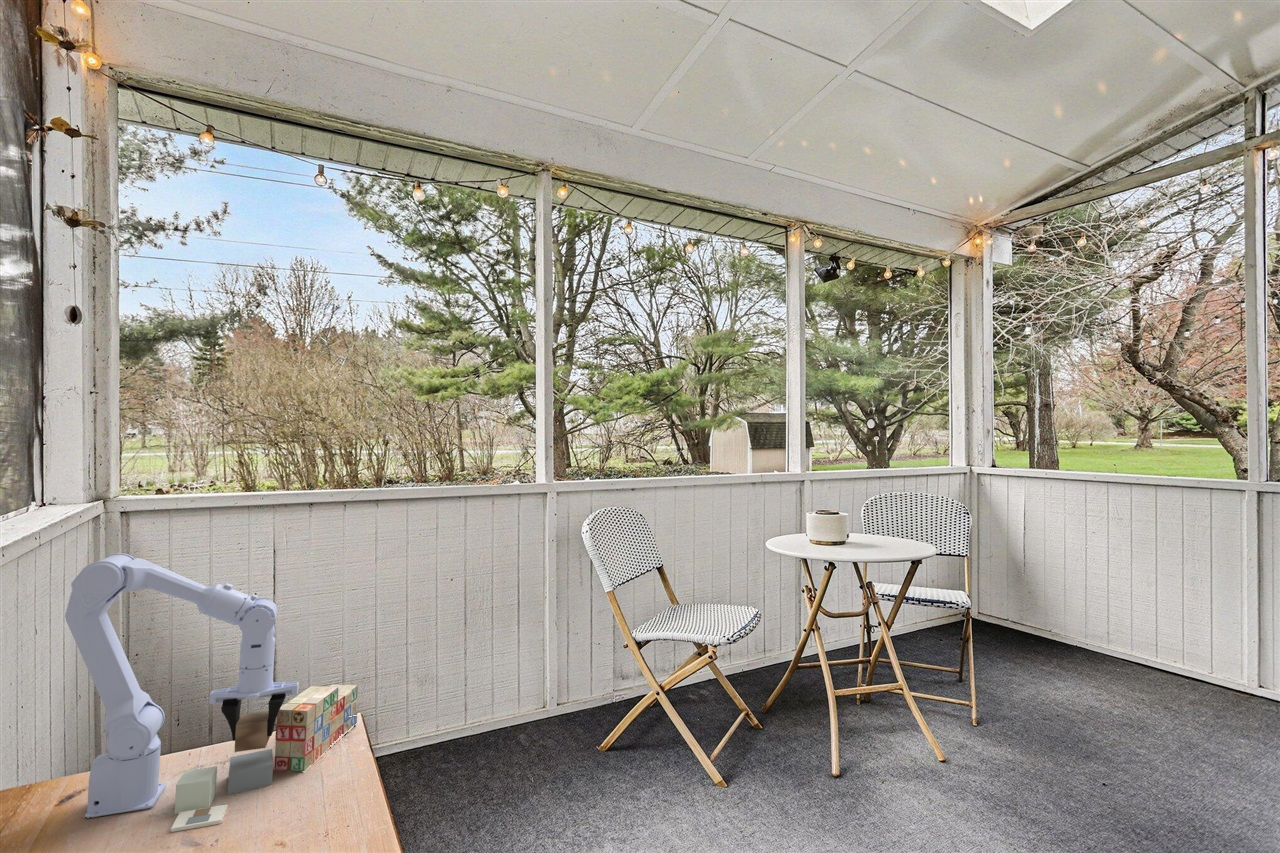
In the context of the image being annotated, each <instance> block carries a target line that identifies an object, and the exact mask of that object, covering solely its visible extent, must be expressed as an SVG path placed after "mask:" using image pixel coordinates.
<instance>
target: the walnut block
mask: <svg viewBox="0 0 1280 853" xmlns="http://www.w3.org/2000/svg"><path fill="white" fill-rule="evenodd" d="M268 721H269V710H266V711H258V712H249V713H240V718H239V720H238V722H237V724H236V733H235V741H234V753H237V752H238V753H239V752H245V751H246V752H248V751H253V750H254V751H255V750H259V749H266V748H267V745H268V742H269V741H270V737H271V736H268V737H267V729H268Z"/></svg>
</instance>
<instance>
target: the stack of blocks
mask: <svg viewBox="0 0 1280 853" xmlns="http://www.w3.org/2000/svg"><path fill="white" fill-rule="evenodd" d="M358 691H359V690H358V685H355V684H330V686H321V685H320V686H317V685H311V686H309V687H308V688H307V689H305V690H304V691H301V693H299V694H297V695H296V696H295V697H294V698H292V699H290V701H289V700H288V701H287V703H285V704H284V703H283V704H282V706H281V708H280V710H279V712H278V714H277V717H276V725H275V746H274V748H275V751H274V763H273V771H275V772H287V771H289V772H290V771H305V770H306V769H307V768H308V767H309V766H310V765H312V764H313V763H314V762H315V761H316V760H317V759H318V757H319V756H321V755H322V754H323V753H324V752H325V751H326V750H327V749H328V748H329V747H330V745H332V743H334V741H336V740H337V739H338V738H339V736H341V734H344V733H345V732H346V731H348V730H349V729H350V728H351V727H352V726H353V725H355V724H356V723H358V722H357V721H358V720H357V719H358V701H359V700H358ZM353 715H357V716H353ZM349 716H352V717H349ZM314 764H315V763H314ZM314 764H313V765H314ZM313 765H312V766H313ZM309 768H310V767H309ZM309 768H308V769H309ZM308 769H307V770H308ZM307 770H306V771H307ZM306 771H305V772H306Z"/></svg>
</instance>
